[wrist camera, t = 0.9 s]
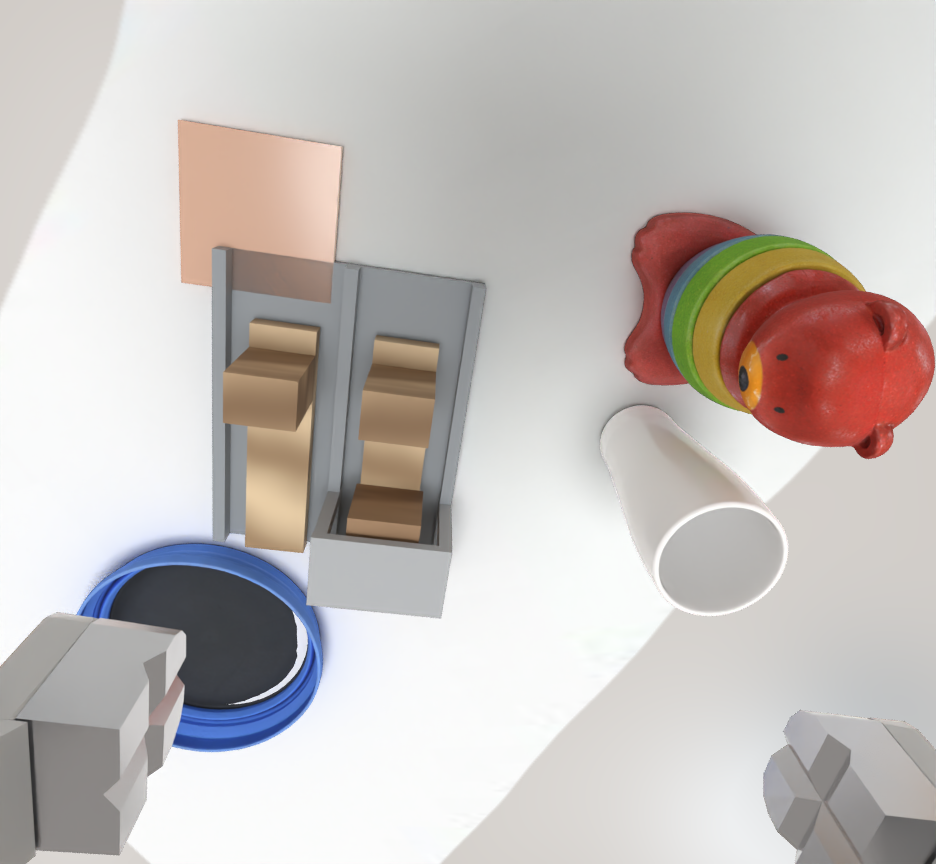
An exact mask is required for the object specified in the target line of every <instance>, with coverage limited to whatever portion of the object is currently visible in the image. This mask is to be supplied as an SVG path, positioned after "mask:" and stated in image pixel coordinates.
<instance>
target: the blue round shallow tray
mask: <svg viewBox="0 0 936 864" xmlns="http://www.w3.org/2000/svg"><path fill="white" fill-rule="evenodd" d="M306 603H307V598H306V597H305V596H304V594H303V593H302V591H301V590H300V589H299V588H298V587H297V586H296V585H295V584H294V583H293V582H292V581H291V580H290V579H289V578H288V577H287V576H286V575H285V574H283V573H282V572H281V571H279V570H278V569H276V568H275V567H273V566H272V565H270V564H268V563H267V562H265V561H263V560H261V559H259V558H257V557H255V556H252V555H250V554H247V553H244V552H241V551H238V550H235V549H231V548H227V547H222V546H216V545H208V544H180V545H173V546H167V547H163V548H159V549H156V550H153V551H150V552H147V553H145V554H143V555H141V556H138V557H137V558H135V559H133V560H132V561H130V562H129V563H127V564H126V565H125V566H123V567H121V568H119V569H118V570H116V571H115V572H113V573H112V574H110V575H109V576H107V577H106V578H105V579H103V580H102V581H101V582H100V583H99V584H98V585H97V586H96V587H95V588H94V589H93V590H92V591H91V592H90V594H89V595H88V596H87V598H86V599H85V601H84V602H83V604H82V605H81V607H80V609H79V611H78V613H77V615H80V616H86V617H93V618H97V619H99V618H105V619H111V620H118V621H124V622H131V623H137V624H144V625H150V626H157V627H164V628H170V629H177V630H182V631H183V632H184V633H185V635H186V658H185V659H184V661H183V663H182V665H181V667H180V669H179V671H178V673H177V676H178V677H179V678H180V680H181V681H182V682H183V684H184V685H185V687H184V702H183V707H182V713H181V718H180V722H179V725H178V728H177V732H176V735H175V738H174V741H173V744H172V747H176V748H181V749H186V750H192V751H200V752H222V751H231V750H238V749H243V748H247V747H250V746H254V745H257V744H260V743H262V742H265V741H267V740H269V739H271V738H273V737H275V736H276V735H278V734H280V733H281V732H283V731H284V730H286V729H287V728H289V727H290V726H291V725H292V724H293V723H295V722H296V721H297V720H298V719H299V718H300V717H301V716H302V715H303V714H304V712H305V711H306V710H307V709H308V707H309V706H310V704H311V703H312V701H313V699H314V697H315V695H316V692H317V689H318V686H319V683H320V679H321V674H322V667H323V656H322V647H321V641H320V634H319V627H318V623H317V619H316V616H315V614H314V611H313V609H312V607H311V606H310V605H306ZM292 611H293V612H294V613H295V614H296V615H297V616H298V617H299V619H300V620H301V622H302V623H303V625H304V626H305V628H306V630H307V635H308V645H307V646H308V647H307V652H306V656H305V658H304V661H303V664H302V666H301V668H300V669H299V670H298V672H297V674H296V675H295V676H294V677H293V678H292V679H291V681H289V682H288V683H287V684H286V685H285V686H284V687H282V688H281V689H280V690H278V691H277V692H275V693H273V694H272V695H270V696H268V697H265V698H263V699H260V700H256V701H253V702H249V703H244V704H233V703H237V702H241V701H245V700H247V699H250V698H252V697H255V696H258V695H260V694H262V693H264V692H266V691H268V690H269V689H271V688H273V687H274V686H276V685H278V684H279V683H280V682H281V681H282V680H283V679H284V678H285V677H286V676H287V675H288V673H289V672H290V671H291V669H292V668H293V667H294V664H295V661H296V658H297V652H296V649H297V626H296V623H295V619H294V615H293V612H292ZM228 704H231V705H228Z"/></svg>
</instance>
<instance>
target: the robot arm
mask: <svg viewBox="0 0 936 864" xmlns="http://www.w3.org/2000/svg"><path fill="white" fill-rule="evenodd" d="M185 658H186V635H185V633H184V632H183V631H182V630H177V629H170V628H164V627H157V626H150V625H144V624H137V623H131V622H124V621H118V620H111V619H105V618H99V619H97V618H93V617H86V616H80V615H73V614H66V613H60V612H57V613H54V614H52V615H50V616H48V617H46V618H45V619H43V620H42V621H41V623H40V624H39V625H38V626H37V627H36V628H35V629H34V630H33V631H32V632H31V633H30V635H29V636H28V637H27V638H26V639H25V640H24V641H23V642H22V643H21V644H20V645H19V647H18V648H17V649H16V650H15V651H14V652H13V653H12V654H11V655H10V656H9V657H8V659H7V660H6V661H5V662H4V663H3V664H2V665H1V666H0V864H26V863H27V862H29V861H30V860H31V859H32V858H33V857H35V855H36V850H41V851H58V852H73V853H90V854H106V855H120V853H121V851H122V849H123V847H124V845H125V843H126V841H127V839H128V837H129V835H130V833H131V831H132V829H133V827H134V825H135V823H136V820H137V818H138V816H139V814H140V812H141V810H142V808H143V806H144V804H145V802H146V798H147V777H148V776H149V775H151V774H152V773H153V772H155V771H156V770H158V769H159V768H161V767H162V766H163V764H164V762H165V760H166V757H167V755H168V753H169V751H170V749H171V747H172V744H173V741H174V738H175V735H176V732H177V728H178V725H179V722H180V718H181V713H182V707H183V702H184V687H185V685H184V684H183V682H182V681H181V680H180V678H179V677H178V676H177V673H178V671H179V669H180V667H181V665H182V663H183V661H184V659H185ZM783 732H784V735H785V738H786V741H787V743H788V745H786V746H785V747H783V748H782V749H780V750H779V751H777V752H776V753H774V754H773V755H772V756H771V758H770V760H769V763H768V765H767V767H766V770H765V772H764V777H763V779H764V780H763V781H764V782H763V784H764V786H763V796H764V800H765V803H766V807H767V811H768V814H769V816H770V818H771V820H772V822H773V824H774V826H775V828H776V830H777V832H778V833H779V834H780V835H782V836H783V837H784V838H785V839H786V840H787V841H788V842H789V843H790V844H791V845H793V846H794V847H795V848H796V849H797V852H796V860H795V864H936V749H935V748H934V747H933V746H932V745H931V744H930V743H929V741H928V740H927V739H926V738H925V737H924V736H923V735H922V734H921V732H920V731H919V730H918V729H916V728H914V727H913V726H911V725H909V724H908V723H906V722H905V721H895V720H886V719H876V718H862V717H854V716H846V715H837V714H828V713H821V712H812V711H804V710H800V711H798V712H797V713H795V714H794V715H793V716H791V717H790V719H789V721H788V723H787V725H786V727H785V729H784V731H783Z"/></svg>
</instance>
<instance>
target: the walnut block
mask: <svg viewBox="0 0 936 864" xmlns="http://www.w3.org/2000/svg"><path fill="white" fill-rule="evenodd" d="M422 504H423V491H417V490H409V489H400V488H392V487H383V486H375V485H366V484H358V483H357V484H356V488H355V491H354V495H353V499H352V503H351V506H350V510H349V514H348V517H347V527H346V536H354V537H363V538H372V539H381V540H390V541H399V542H408V543H417V544H419V537H420V530H421V520H422Z"/></svg>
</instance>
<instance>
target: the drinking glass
mask: <svg viewBox="0 0 936 864" xmlns="http://www.w3.org/2000/svg"><path fill="white" fill-rule="evenodd" d="M600 450H601V454H602V457H603V460H604V462H605V464H606V465H607V467H608V470H609V473H610V476H611V479H612V481H613V484H614V487H615V490H616V493H617V496H618V499H619V502H620V505H621V509H622V512H623V515H624V518H625V521H626V524H627V527H628V530H629V533H630V536H631V538H632V541H633V543H634V546H635V548H636V550H637V552H638V554H639V557H640V559H641V561H642V563H643V565H644V566H645V568H646V570H647V572H648V574H649V575H650V577H651V579H652V580H653V582H654V584H655V585H656V587H657V589H658V591H659V592H660V594H661V595H662V596H663V598H664V599H665V600H666V601H667V602H669V603H670V604H671V605H673V606H674V607H676V608H677V609H680V610H682V611H684V612H687V613H690V614H694V615H700V616H718V615H724V614H729V613H733V612H736V611H739V610H741V609H744V608H746V607H748V606H750V605H751V604H753V603H755V602H756V601H758V600H759V599H761V598H762V597H763V596H765V595H766V594H767V593H768V592H769V590H771V589H772V588H773V587H774V585H775V584H776V583H777V581H778V580H779V578H780V577H781V575H782V573H783V571H784V568H785V566H786V562H787V558H788V540H787V536H786V533H785V530H784V528H783V526H782V525H781V523H780V522H779V521H778V519H777V518H776V517H775V516H774V515H773V513H772V512H771V511H770V509H769V508H768V507H767V506H766V505H765V503H764V502H763V501H762V500H761V499H760V497H759V496H758V495H757V494H756V493H755V492H754V491H753V490H752V489H751V488H750V486H749V485H748V484H747V483H746V482H744V481H743V480H742V479H741V478H740V477H739V476H738V475H737V474H736V473H735V472H734V471H733V470H731V469H730V468H729V467H728V466H727V465H725V464H724V463H723V462H722V461H720V460H719V459H718V458H717V457H716V456H714V455H713V454H712V453H711V452H709V451H708V450H707V449H706V448H704V447H703V446H702V445H701V444H699V443H698V442H697V441H696V440H695V439H693V438H692V437H691V436H690V435H689V434H687V433H686V432H685V431H684V430H683V429H681V428H680V427H679V426H678V425H677V424H676V423H675V422H674V421H673V420H672V419H671V418H670V417H669V416H668V415H667V414H666V413H665V412H663V411H662V410H660V409H658V408H655V407H652V406H646V405H638V406H632V407H629V408H626V409H624V410H622V411H620V412H618V413H617V414H615V415H614V416H613V417H612V418H611V419H610V420H609V421H608V423H607V424H606V426H605V427H604V429H603V432H602V434H601V439H600Z"/></svg>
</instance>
